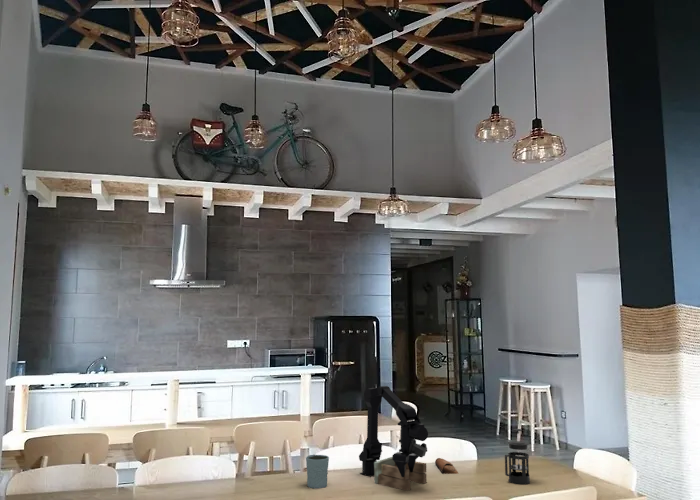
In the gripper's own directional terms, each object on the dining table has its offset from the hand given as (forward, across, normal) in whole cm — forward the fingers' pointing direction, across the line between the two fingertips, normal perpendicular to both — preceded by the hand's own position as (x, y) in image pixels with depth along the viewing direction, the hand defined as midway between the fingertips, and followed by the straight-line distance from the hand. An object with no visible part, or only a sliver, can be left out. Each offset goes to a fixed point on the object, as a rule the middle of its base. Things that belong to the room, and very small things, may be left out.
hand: (407, 474), depth 241 cm
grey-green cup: (+6, -16, +36) cm, 40 cm away
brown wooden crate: (+6, +6, +5) cm, 10 cm away
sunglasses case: (+6, +40, -4) cm, 40 cm away
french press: (+5, +34, -40) cm, 53 cm away
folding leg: (+1, -2, +5) cm, 6 cm away
